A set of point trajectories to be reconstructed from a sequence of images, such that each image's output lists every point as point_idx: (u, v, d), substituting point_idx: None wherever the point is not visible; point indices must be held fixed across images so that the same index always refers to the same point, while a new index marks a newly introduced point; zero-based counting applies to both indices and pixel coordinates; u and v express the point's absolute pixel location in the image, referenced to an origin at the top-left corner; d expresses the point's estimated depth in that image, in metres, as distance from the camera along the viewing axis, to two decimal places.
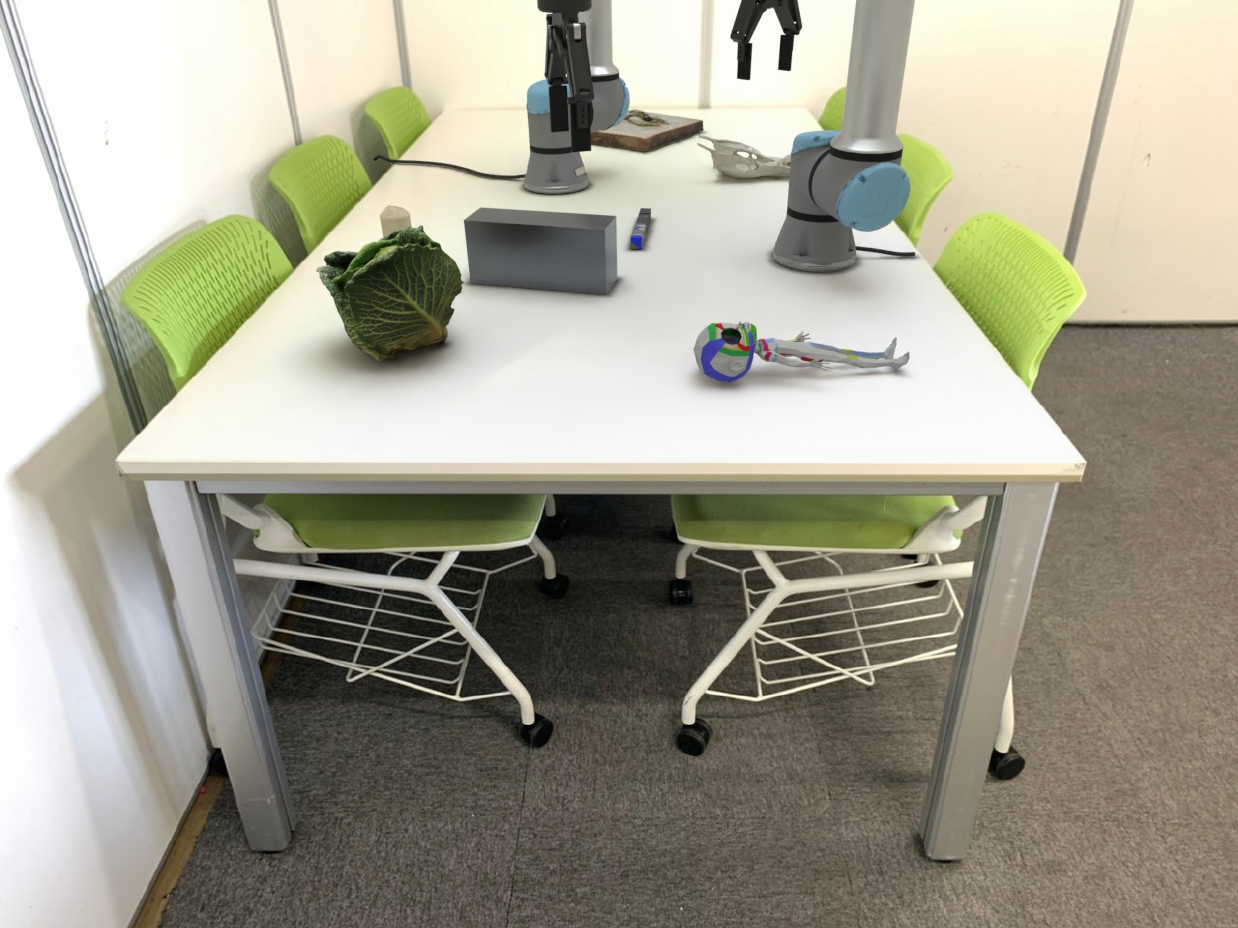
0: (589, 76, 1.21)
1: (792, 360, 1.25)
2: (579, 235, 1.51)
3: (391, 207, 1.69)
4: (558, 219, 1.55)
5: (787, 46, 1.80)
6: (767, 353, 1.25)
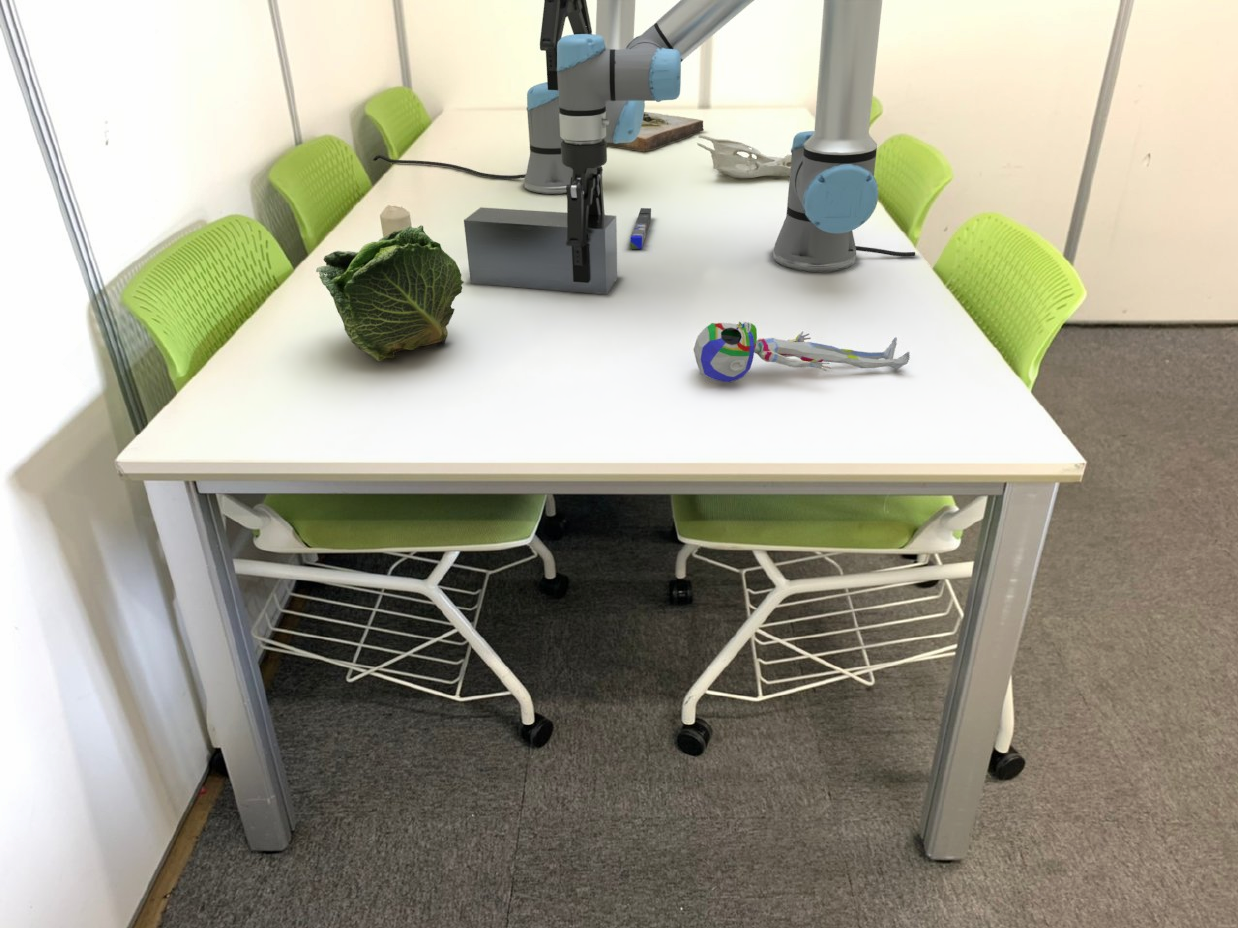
0: None
1: (792, 360, 1.25)
2: None
3: (391, 207, 1.69)
4: (558, 219, 1.55)
5: None
6: (767, 353, 1.25)
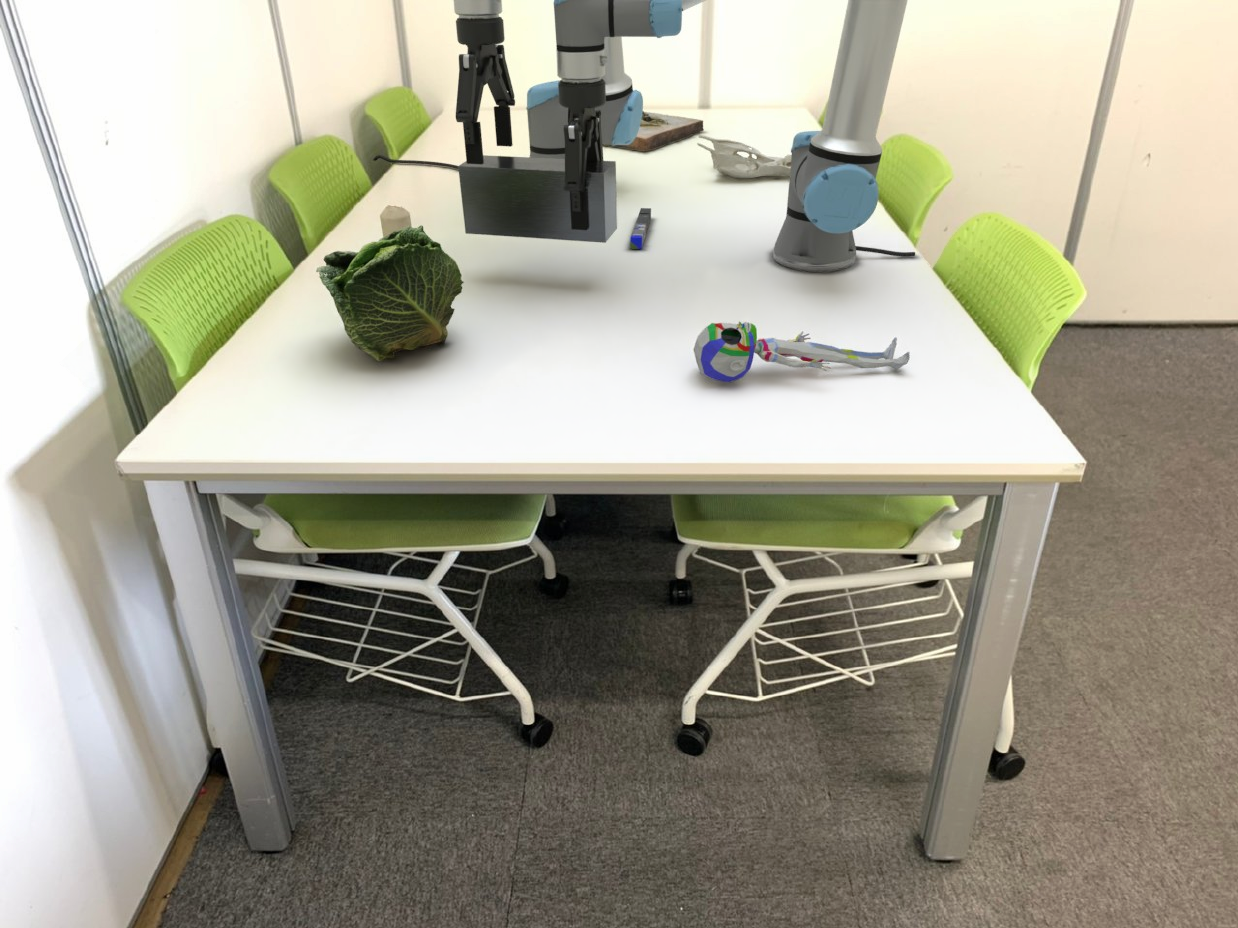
0: None
1: (792, 360, 1.25)
2: None
3: (391, 207, 1.69)
4: (555, 164, 1.50)
5: (504, 119, 1.56)
6: (767, 353, 1.25)
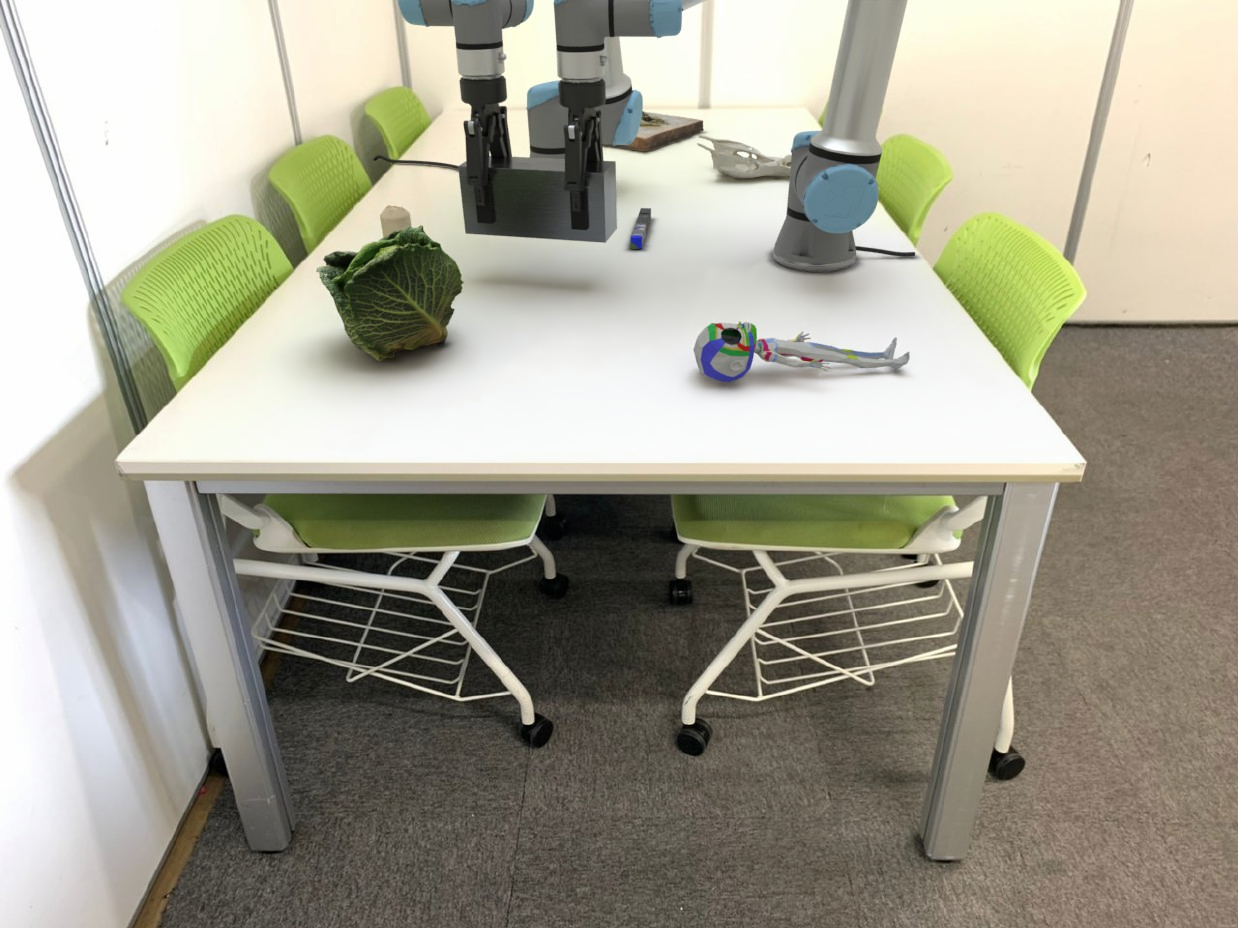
0: None
1: (792, 360, 1.25)
2: None
3: (391, 207, 1.69)
4: (555, 164, 1.50)
5: None
6: (767, 353, 1.25)
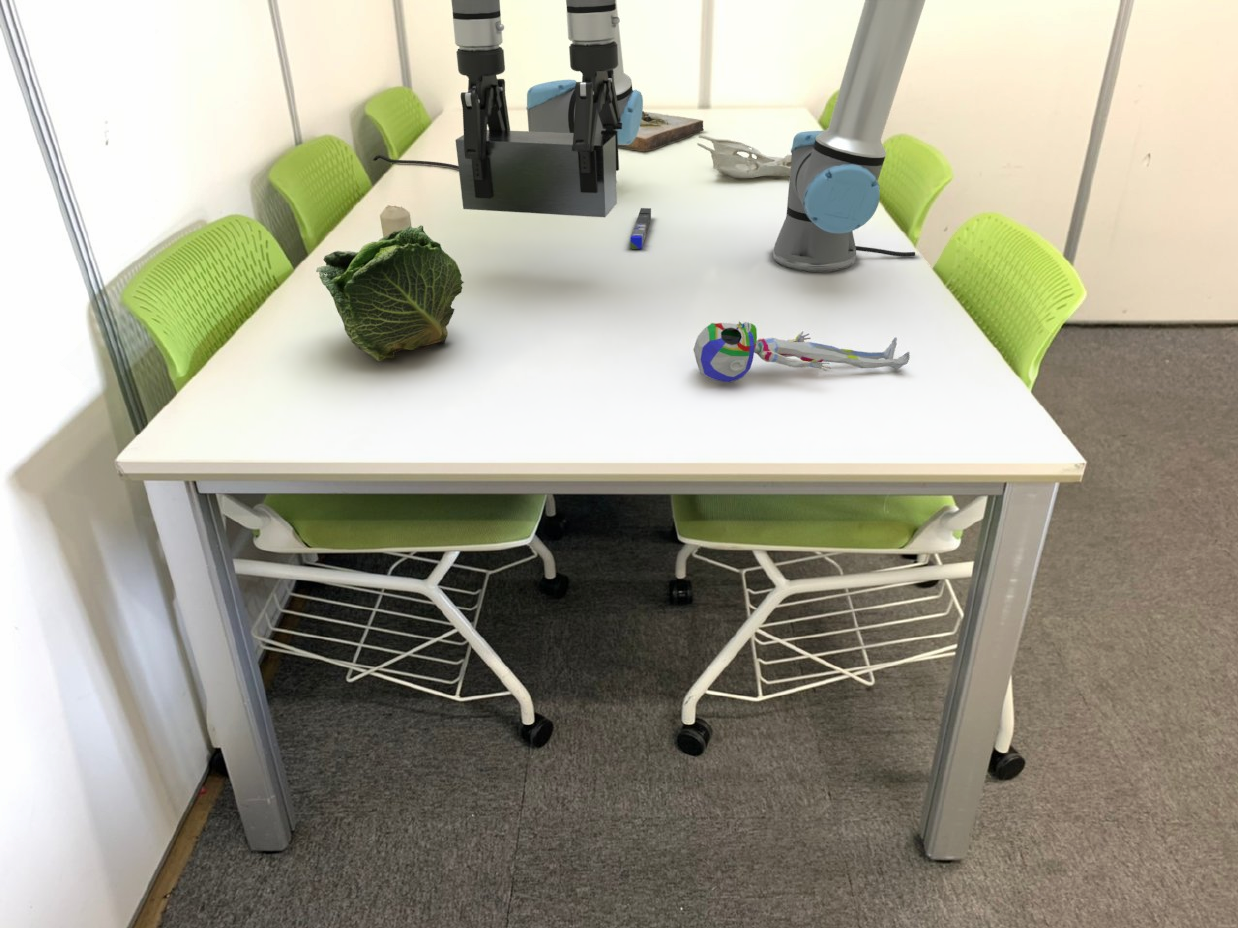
0: None
1: (792, 360, 1.25)
2: (576, 153, 1.44)
3: (391, 207, 1.69)
4: (554, 138, 1.48)
5: None
6: (767, 353, 1.25)
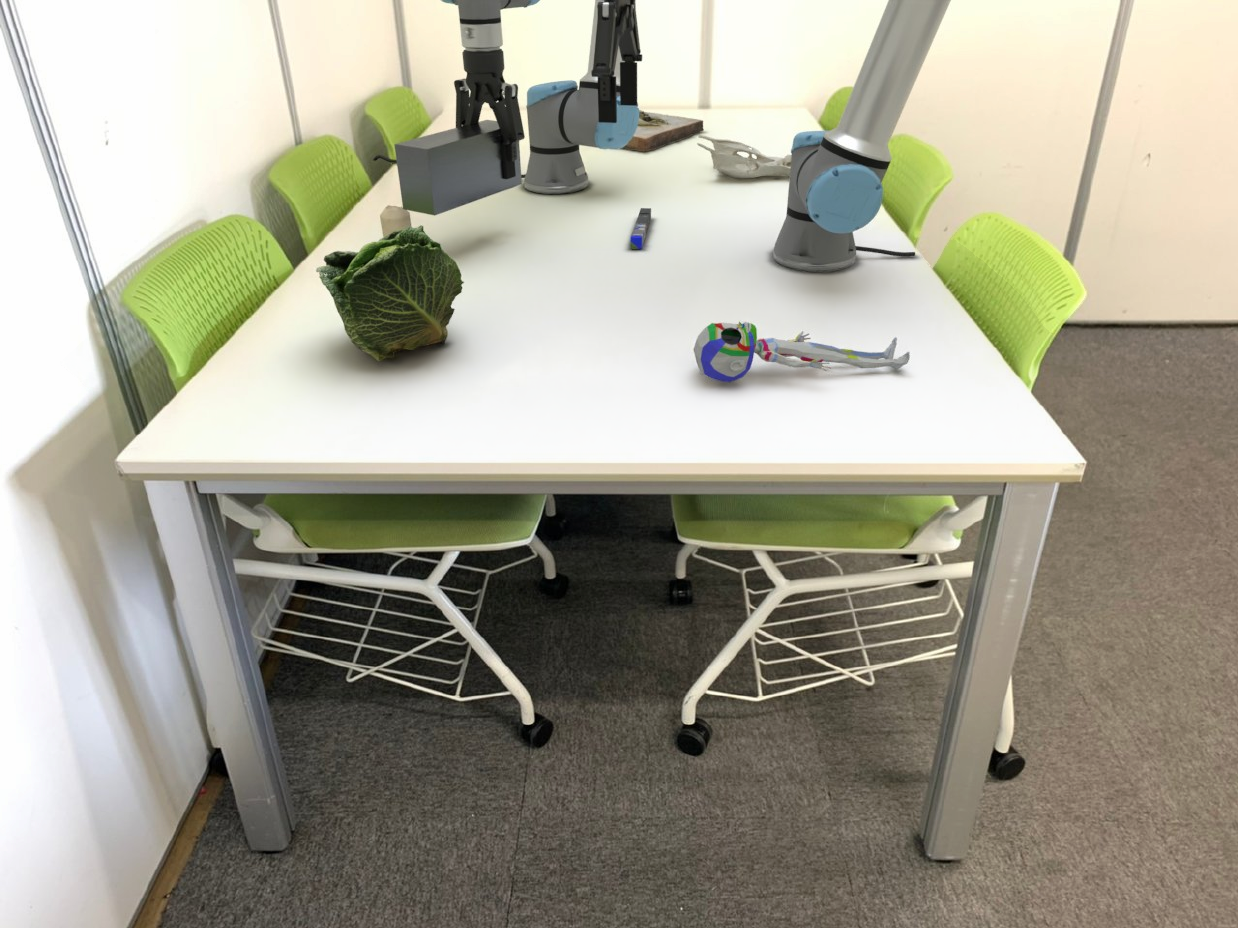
0: None
1: (792, 360, 1.25)
2: None
3: (391, 207, 1.69)
4: (446, 136, 1.63)
5: None
6: (767, 353, 1.25)
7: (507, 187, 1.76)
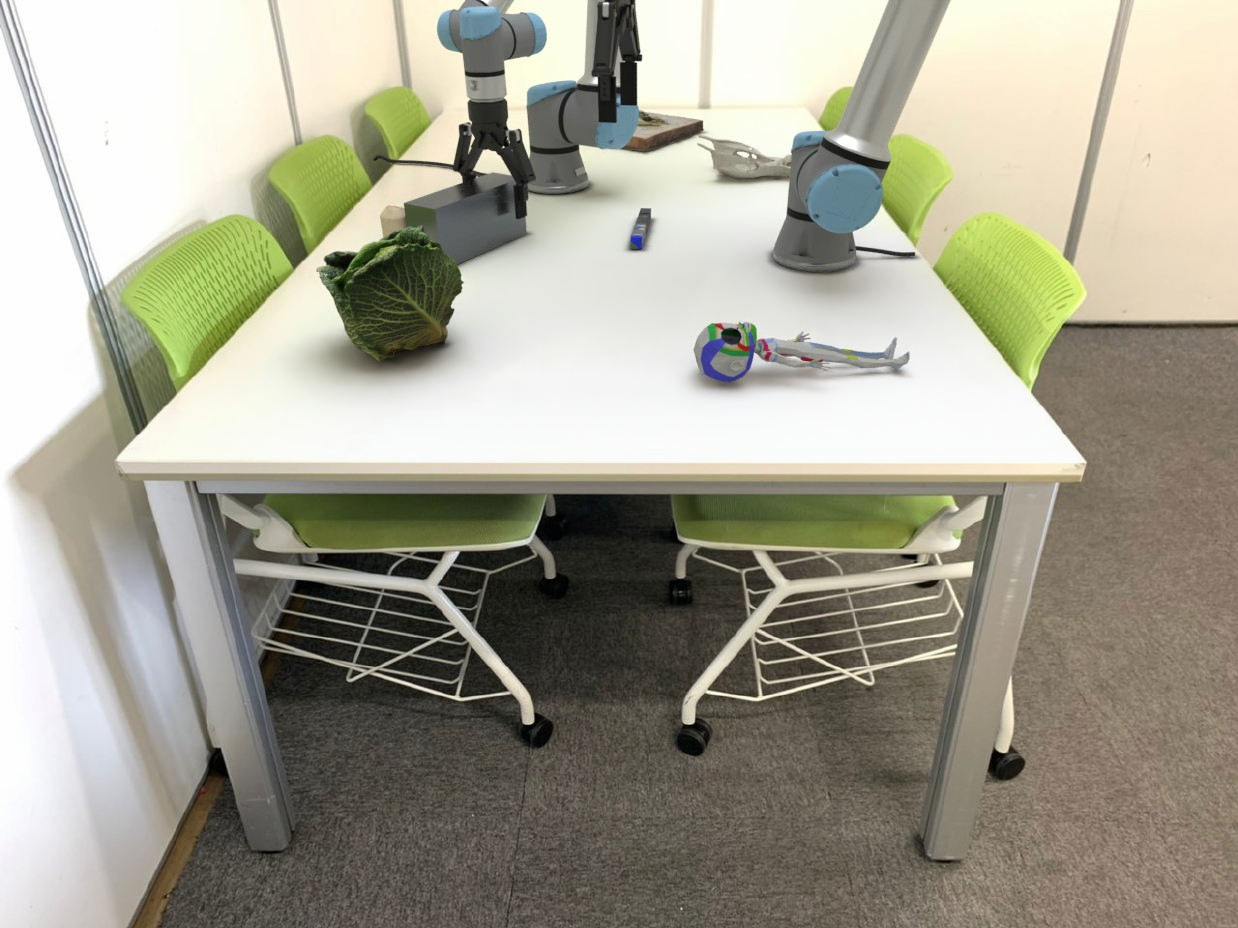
0: None
1: (792, 360, 1.25)
2: None
3: (391, 207, 1.69)
4: (453, 193, 1.69)
5: None
6: (767, 353, 1.25)
7: (512, 238, 1.81)
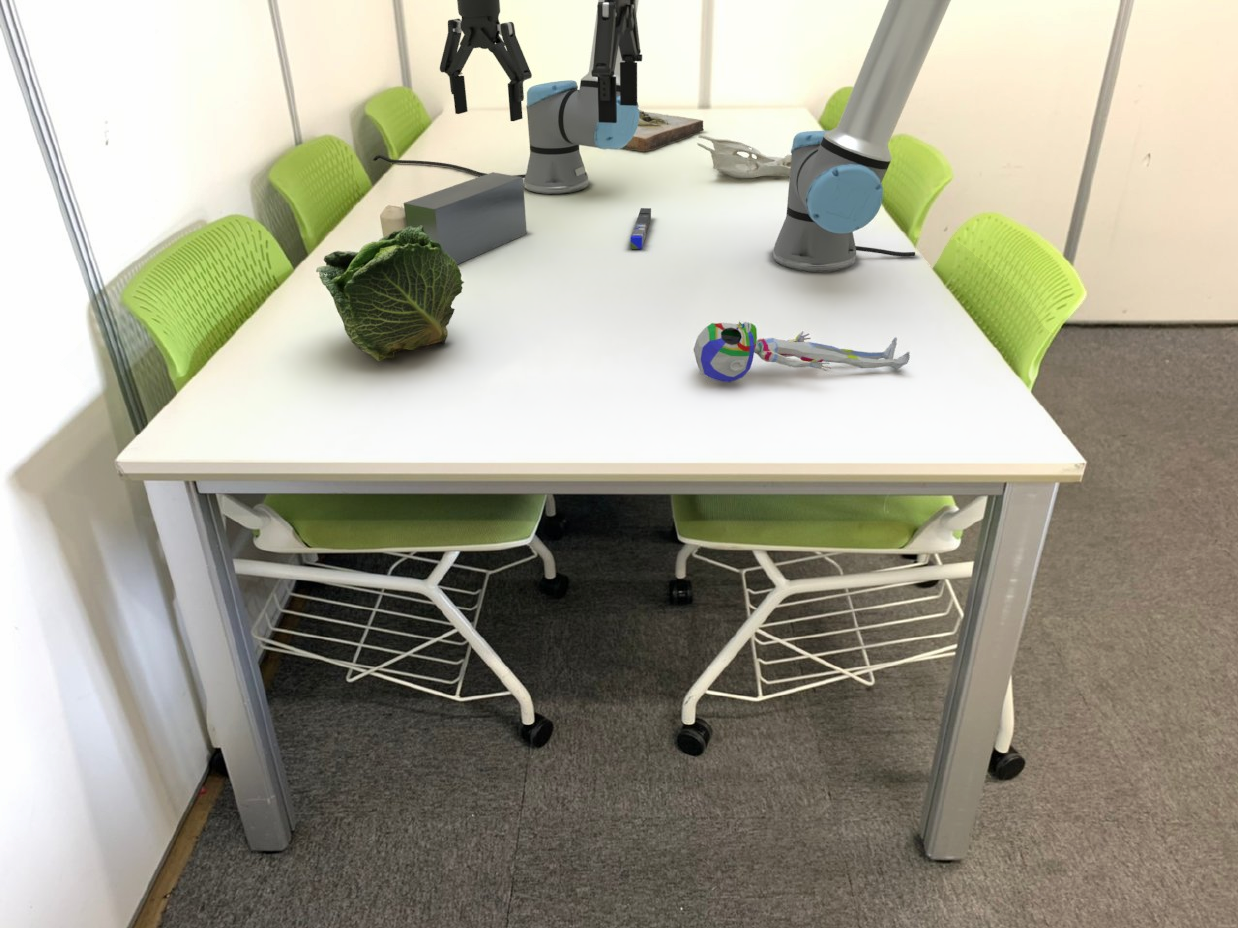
0: None
1: (792, 360, 1.25)
2: None
3: (391, 207, 1.69)
4: (453, 193, 1.69)
5: None
6: (767, 353, 1.25)
7: (512, 238, 1.81)
